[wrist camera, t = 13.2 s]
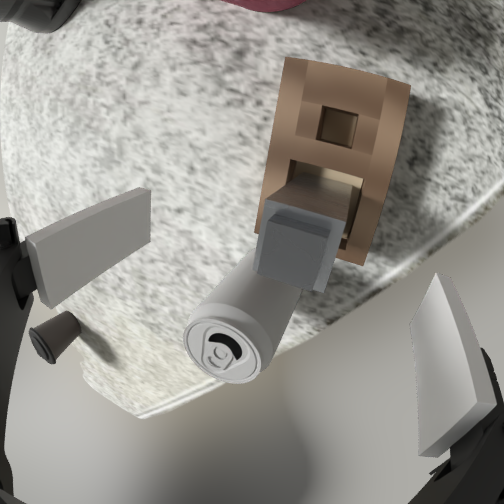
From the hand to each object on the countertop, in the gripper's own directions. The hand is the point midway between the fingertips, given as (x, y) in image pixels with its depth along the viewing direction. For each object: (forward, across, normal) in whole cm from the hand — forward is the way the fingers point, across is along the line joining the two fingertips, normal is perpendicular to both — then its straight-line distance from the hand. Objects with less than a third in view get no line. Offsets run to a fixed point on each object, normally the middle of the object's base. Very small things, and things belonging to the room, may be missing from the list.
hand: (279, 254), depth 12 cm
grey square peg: (+12, 0, -1) cm, 13 cm away
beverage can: (+14, -2, -9) cm, 17 cm away
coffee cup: (+14, -38, -35) cm, 54 cm away
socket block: (+14, 0, +3) cm, 14 cm away
